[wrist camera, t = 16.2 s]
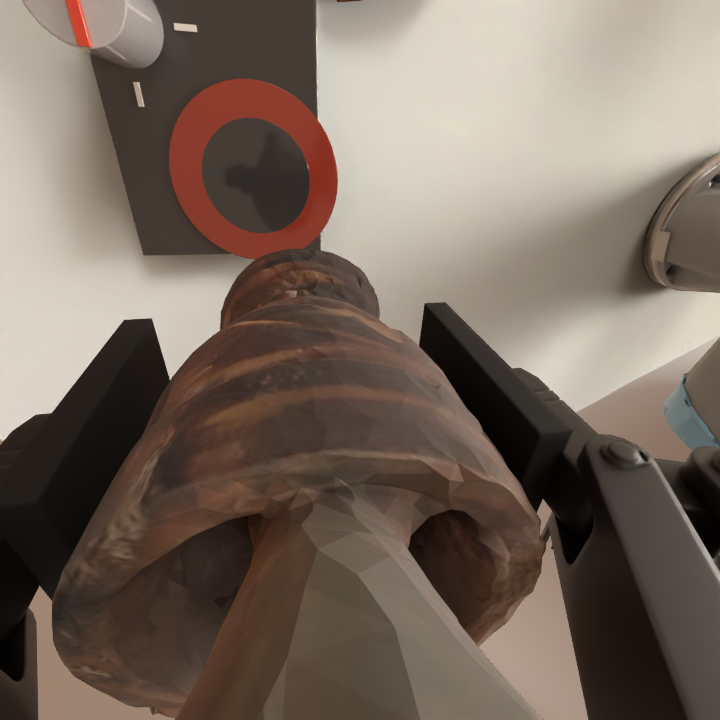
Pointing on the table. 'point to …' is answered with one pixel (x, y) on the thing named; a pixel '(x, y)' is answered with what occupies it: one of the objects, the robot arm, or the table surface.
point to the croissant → (347, 0)
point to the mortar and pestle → (303, 526)
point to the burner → (252, 168)
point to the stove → (187, 79)
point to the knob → (105, 28)
